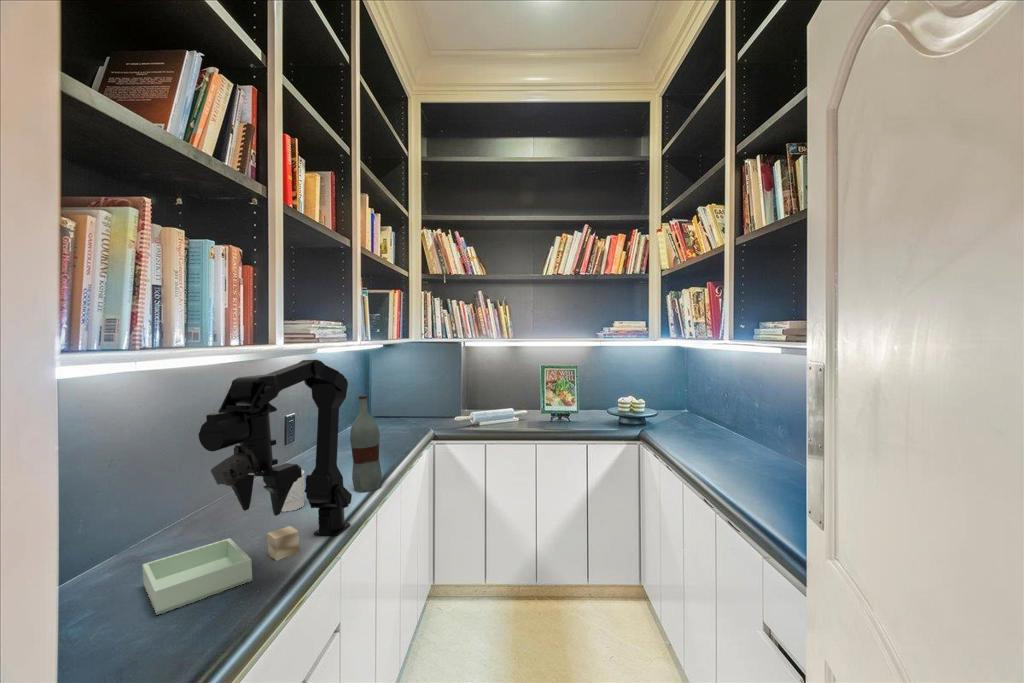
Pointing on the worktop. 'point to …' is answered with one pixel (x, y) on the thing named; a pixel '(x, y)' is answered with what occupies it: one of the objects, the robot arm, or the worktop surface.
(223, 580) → the sage bin
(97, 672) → the worktop surface
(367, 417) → the bottle
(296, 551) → the birch block
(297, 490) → the white cup
